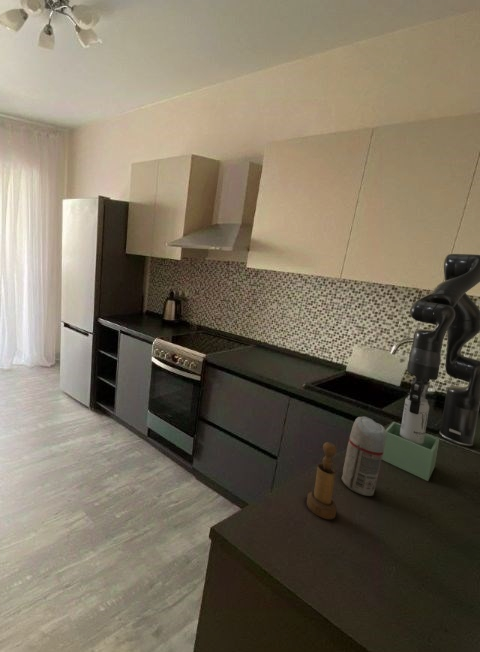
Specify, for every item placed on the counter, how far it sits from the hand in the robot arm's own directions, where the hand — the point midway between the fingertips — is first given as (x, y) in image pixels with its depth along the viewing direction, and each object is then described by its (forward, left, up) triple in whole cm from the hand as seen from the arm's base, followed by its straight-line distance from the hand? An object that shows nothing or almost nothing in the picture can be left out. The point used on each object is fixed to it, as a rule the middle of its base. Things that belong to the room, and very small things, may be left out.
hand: (415, 410), depth 110 cm
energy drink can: (0, 0, -11) cm, 11 cm away
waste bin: (0, 0, -18) cm, 18 cm away
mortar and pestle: (+50, -9, -19) cm, 54 cm away
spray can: (+30, -6, -19) cm, 36 cm away
